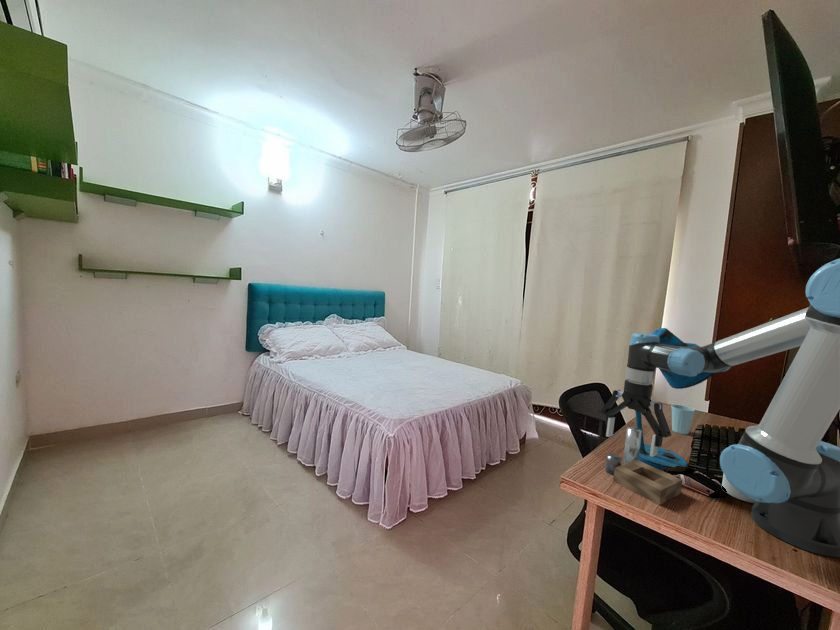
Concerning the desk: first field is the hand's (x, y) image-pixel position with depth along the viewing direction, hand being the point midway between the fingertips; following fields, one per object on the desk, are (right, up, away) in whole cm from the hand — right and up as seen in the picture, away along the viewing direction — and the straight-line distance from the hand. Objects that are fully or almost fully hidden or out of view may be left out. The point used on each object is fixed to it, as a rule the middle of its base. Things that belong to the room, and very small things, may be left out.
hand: (630, 445), depth 106 cm
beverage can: (+22, -9, -14) cm, 28 cm away
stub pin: (-9, -6, -5) cm, 12 cm away
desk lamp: (+14, -7, +4) cm, 17 cm away
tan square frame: (-4, -7, -13) cm, 15 cm away
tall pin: (0, -6, 0) cm, 6 cm away
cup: (+41, -7, +31) cm, 53 cm away
